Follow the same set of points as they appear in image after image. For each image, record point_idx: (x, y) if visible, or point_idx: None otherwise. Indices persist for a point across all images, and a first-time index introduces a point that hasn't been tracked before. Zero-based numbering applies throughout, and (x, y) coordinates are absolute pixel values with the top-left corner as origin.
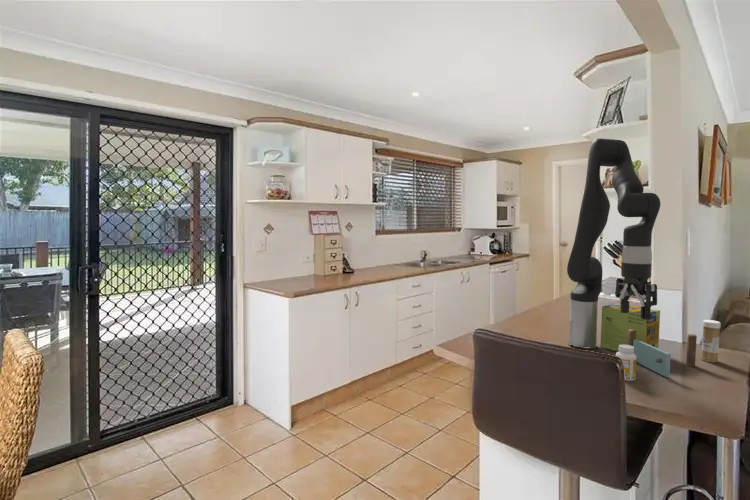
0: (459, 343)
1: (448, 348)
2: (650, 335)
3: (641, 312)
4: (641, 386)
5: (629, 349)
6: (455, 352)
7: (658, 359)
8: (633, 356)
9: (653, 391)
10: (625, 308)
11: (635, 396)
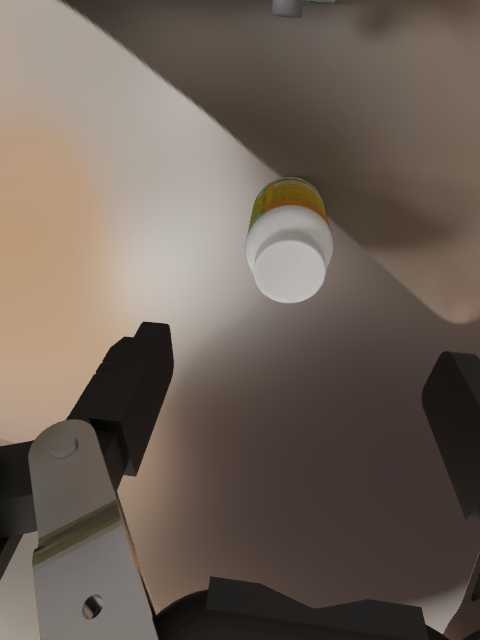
0: None
1: None
2: None
3: (450, 453)
4: (372, 211)
5: (323, 280)
6: None
7: (297, 15)
8: (329, 248)
9: (424, 203)
10: (158, 379)
11: (425, 290)
